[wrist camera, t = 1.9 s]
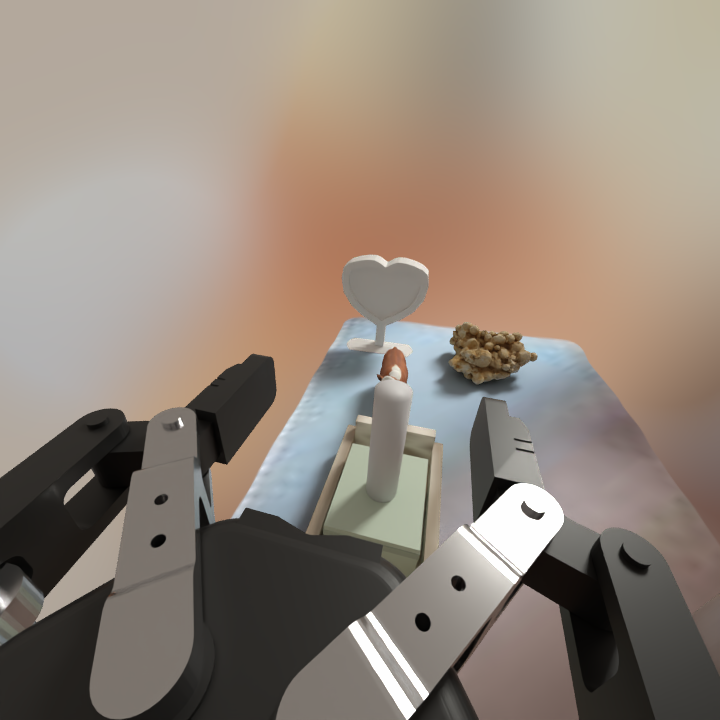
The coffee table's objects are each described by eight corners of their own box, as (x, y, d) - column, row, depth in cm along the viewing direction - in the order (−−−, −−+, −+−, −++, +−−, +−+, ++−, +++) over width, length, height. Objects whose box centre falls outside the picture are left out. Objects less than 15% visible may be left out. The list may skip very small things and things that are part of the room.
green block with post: (421, 488, 39) (449, 366, 30) (412, 581, 30) (447, 449, 21) (351, 472, 40) (356, 350, 31) (323, 556, 32) (320, 422, 23)
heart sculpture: (339, 348, 67) (341, 258, 58) (345, 336, 72) (347, 251, 62) (417, 358, 65) (431, 267, 56) (417, 346, 70) (431, 259, 60)
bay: (437, 466, 43) (446, 432, 40) (403, 1053, 15) (423, 1098, 12) (347, 446, 45) (349, 412, 42) (169, 929, 17) (132, 937, 14)
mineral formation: (447, 346, 70) (524, 353, 67) (444, 391, 60) (534, 403, 57) (452, 313, 65) (536, 320, 62) (450, 357, 55) (549, 368, 52)
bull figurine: (369, 429, 48) (373, 383, 44) (382, 377, 60) (386, 336, 55) (399, 434, 48) (406, 388, 43) (406, 380, 59) (412, 340, 55)
